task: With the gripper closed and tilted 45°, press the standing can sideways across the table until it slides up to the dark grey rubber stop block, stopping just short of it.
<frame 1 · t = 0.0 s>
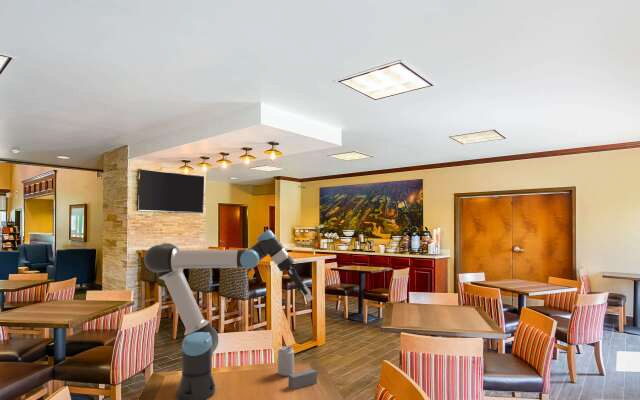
hand: (309, 297, 183), 36 cm above the table, tool tilted 35°, fingers open, 13 cm apart
can: (286, 374, 185), on the table
stop block: (302, 384, 173), on the table
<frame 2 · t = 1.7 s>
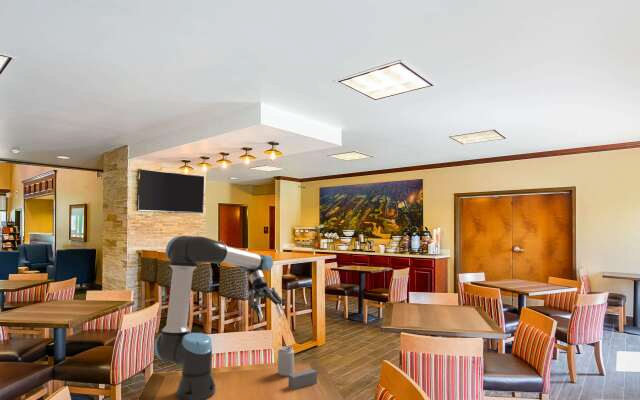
hand: (271, 317, 199), 23 cm above the table, tool tilted 45°, fingers open, 10 cm apart
nothing on the table moved.
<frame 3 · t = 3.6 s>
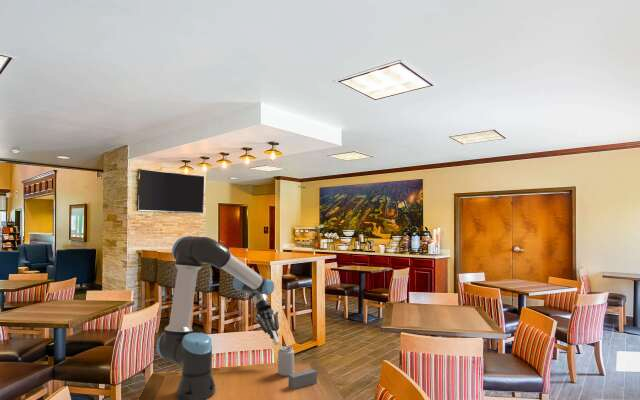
hand: (277, 343, 194), 11 cm above the table, tool tilted 45°, fingers closed
nothing on the table moved.
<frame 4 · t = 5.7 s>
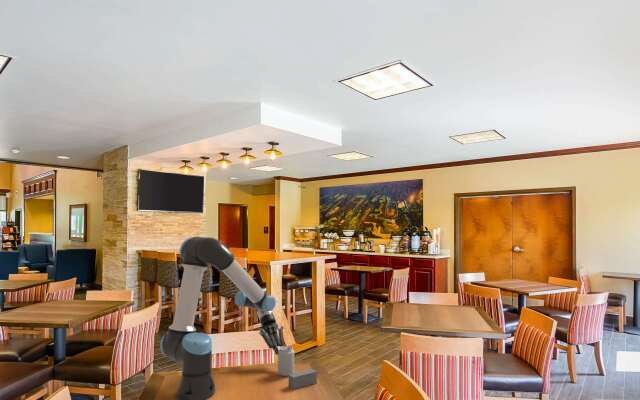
hand: (282, 359, 190), 5 cm above the table, tool tilted 45°, fingers closed
can: (286, 374, 185), on the table, touching gripper
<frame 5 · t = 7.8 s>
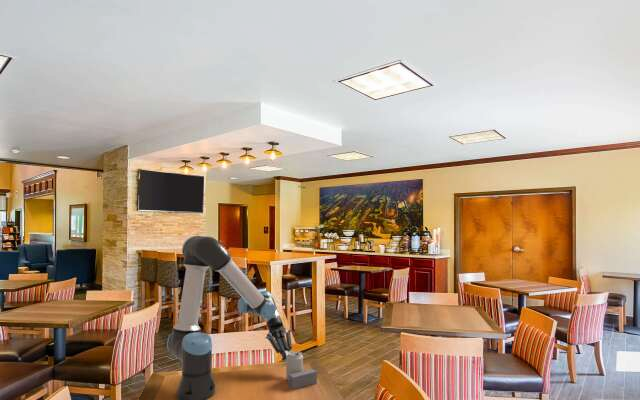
hand: (290, 364, 182), 5 cm above the table, tool tilted 45°, fingers closed
can: (294, 380, 178), on the table, touching gripper
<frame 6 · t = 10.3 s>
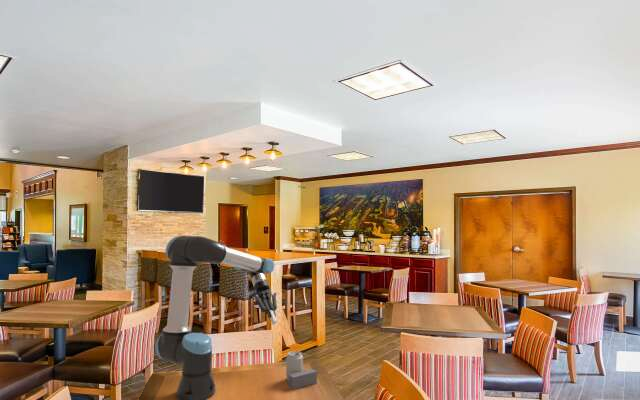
hand: (274, 322, 196), 21 cm above the table, tool tilted 45°, fingers closed
can: (294, 380, 178), on the table
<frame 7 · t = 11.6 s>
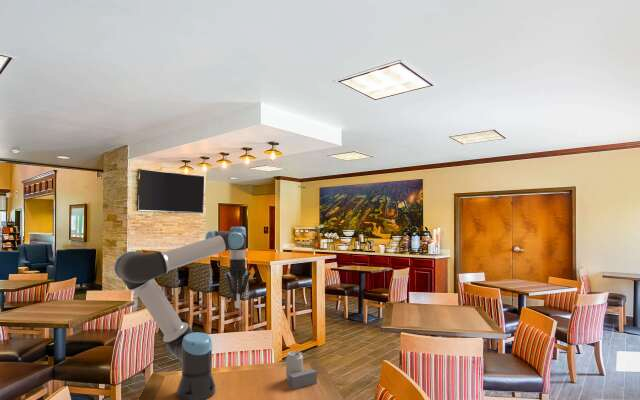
hand: (237, 307, 192), 29 cm above the table, tool pointing down, fingers closed
nothing on the table moved.
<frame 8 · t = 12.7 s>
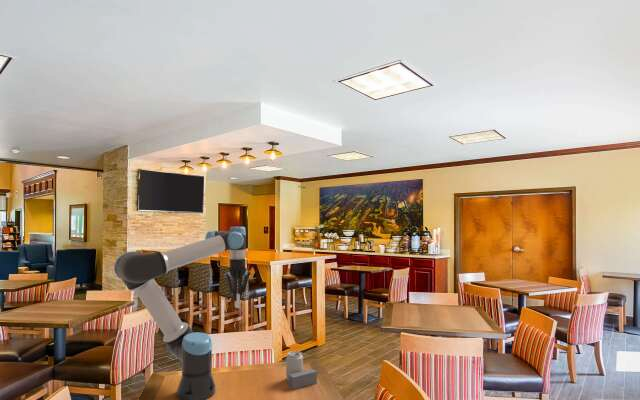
hand: (237, 307, 192), 29 cm above the table, tool pointing down, fingers closed
nothing on the table moved.
at the end: can inside the target area (0.5 cm from its centre), on the table; can tilted 0°; can moved 8.6 cm from its start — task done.
